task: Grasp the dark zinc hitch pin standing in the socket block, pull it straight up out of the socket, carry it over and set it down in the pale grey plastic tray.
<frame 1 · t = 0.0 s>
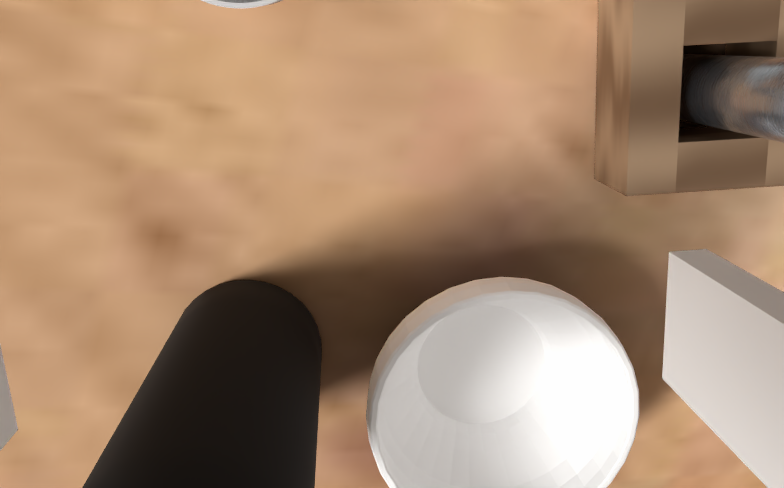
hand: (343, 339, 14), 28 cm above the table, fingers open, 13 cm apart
pin: (766, 97, 34), in the socket block
bottle: (248, 346, 44), on the table
socket block: (682, 86, 42), on the table
bowl: (478, 359, 46), on the table
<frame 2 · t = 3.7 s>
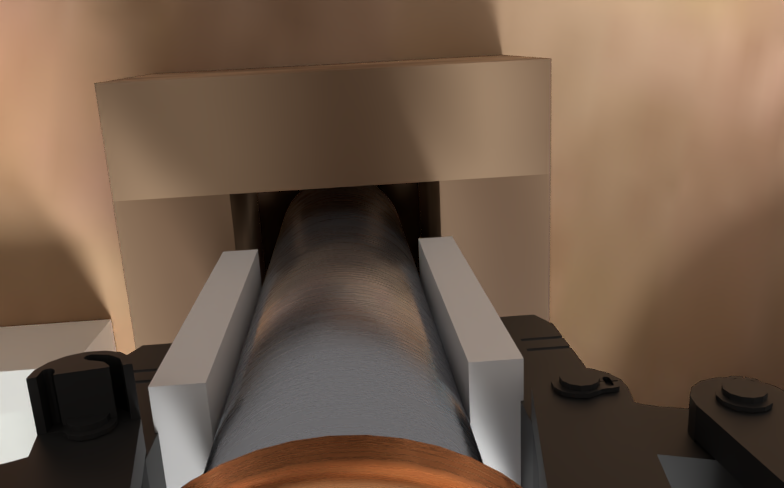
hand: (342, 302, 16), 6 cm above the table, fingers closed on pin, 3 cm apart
pin: (343, 345, 14), in the socket block, touching gripper
socket block: (341, 234, 22), on the table
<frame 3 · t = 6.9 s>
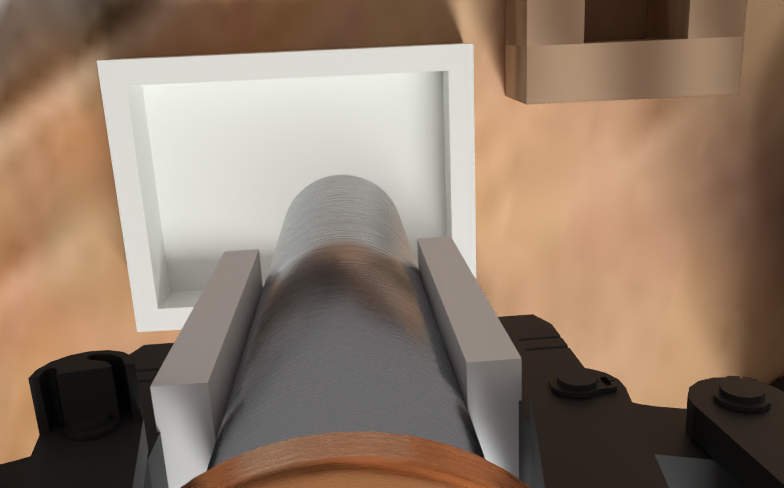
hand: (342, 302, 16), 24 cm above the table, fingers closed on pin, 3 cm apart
tray: (302, 181, 39), on the table
pin: (345, 344, 14), point 26 cm above the table, touching gripper
when the fingers open (8 cm above the table, at t = 10.5 s): pin stays where it is, resting on tray.
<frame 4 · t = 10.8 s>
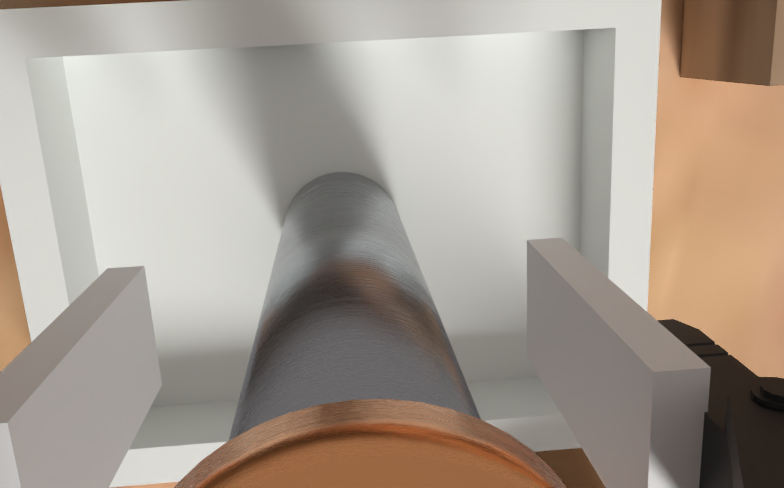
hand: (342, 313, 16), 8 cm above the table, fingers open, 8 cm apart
tray: (341, 222, 24), on the table
pin: (349, 332, 15), in the tray, point 9 cm above the table
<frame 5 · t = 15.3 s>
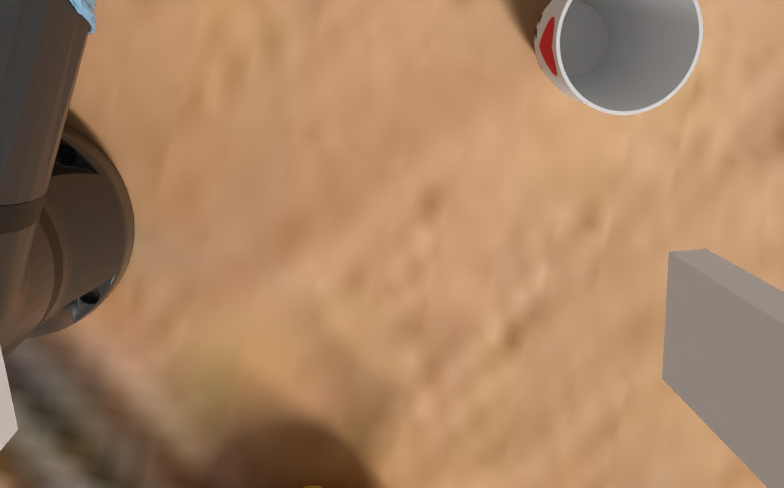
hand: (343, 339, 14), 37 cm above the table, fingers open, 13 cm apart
cup: (572, 40, 49), on the table
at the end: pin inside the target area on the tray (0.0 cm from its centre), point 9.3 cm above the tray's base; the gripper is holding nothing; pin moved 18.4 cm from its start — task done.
